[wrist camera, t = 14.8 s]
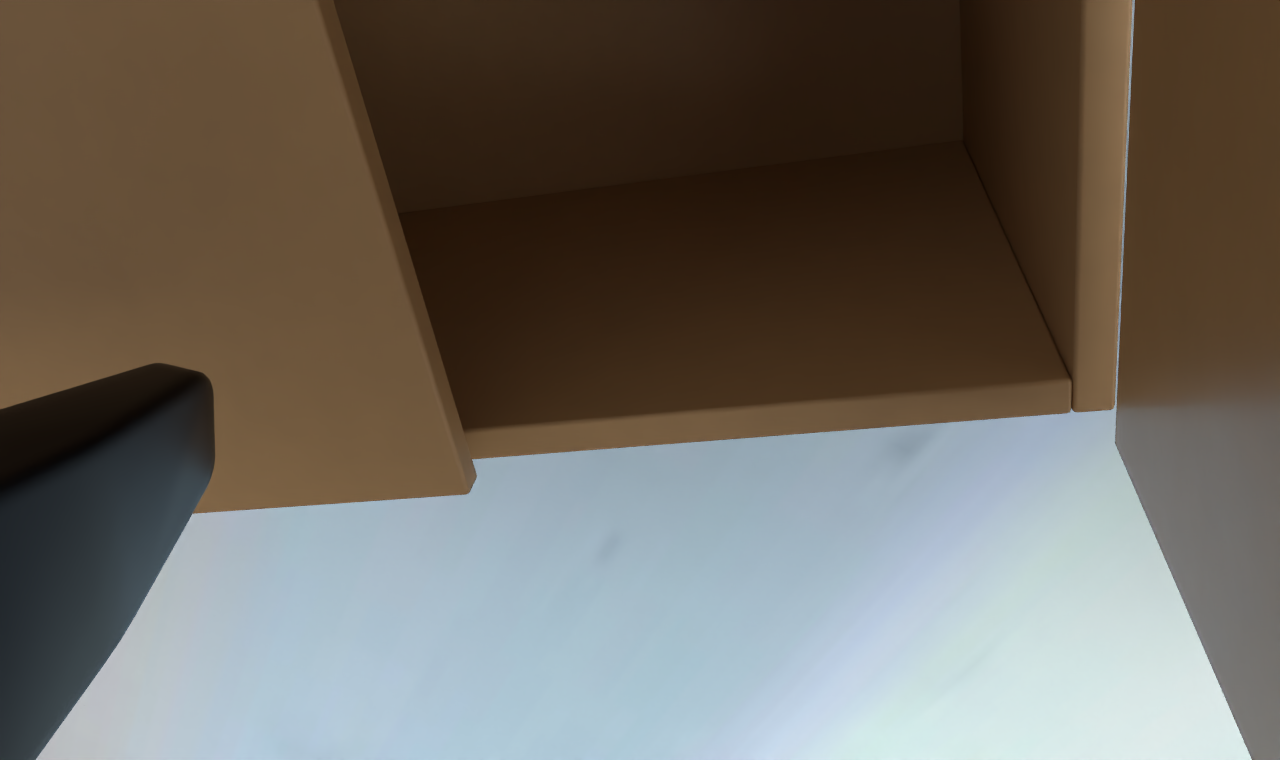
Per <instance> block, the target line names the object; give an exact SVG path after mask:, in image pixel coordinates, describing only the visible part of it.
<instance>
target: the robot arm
mask: <svg viewBox="0 0 1280 760" xmlns="http://www.w3.org/2000/svg"><path fill="white" fill-rule="evenodd" d="M214 464H215V427H214V393H213V387H212V384H211V381H210V379H209V378H208V377H207V376H206V375H205V374H204V373H202V372H199V371H194V370H190V369H186V368H182V367H178V366H174V365H169V364H165V363H153V364H149V365H145V366H142V367H139V368H136V369H132V370H129V371H126V372H122V373H119V374H116V375H112V376H109V377H106V378H102V379H99V380H96V381H92V382H89V383H86V384H82V385H79V386H76V387H73V388H69V389H66V390H63V391H59V392H56V393H53V394H49V395H46V396H43V397H39V398H36V399H33V400H29V401H26V402H23V403H20V404H16V405H13V406H10V407H6V408H3V409H0V760H36V758H37V757H38V755H39V754H40V753H41V751H42V750H43V749H44V747H45V746H46V744H47V743H48V742H49V740H50V739H51V737H52V736H53V735H54V733H55V732H56V730H57V729H58V728H59V726H60V725H61V724H62V722H63V721H64V719H65V718H66V717H67V715H68V714H69V712H70V711H71V710H72V708H73V707H74V705H75V704H76V703H77V701H78V700H79V699H80V697H81V696H82V694H83V693H84V692H85V690H86V689H87V687H88V686H89V685H90V683H91V682H92V680H93V679H94V678H95V676H96V675H97V674H98V672H99V671H100V669H101V668H102V667H103V665H104V664H105V662H106V661H107V659H108V658H109V656H110V655H111V653H112V652H113V650H114V649H115V648H116V646H117V645H118V643H119V642H120V640H121V639H122V637H123V635H124V634H125V632H126V630H127V629H128V627H129V625H130V624H131V622H132V620H133V619H134V617H135V615H136V613H137V612H138V610H139V608H140V606H141V605H142V603H143V601H144V599H145V597H146V596H147V594H148V592H149V590H150V588H151V587H152V585H153V583H154V581H155V580H156V578H157V576H158V574H159V572H160V571H161V569H162V567H163V565H164V563H165V562H166V560H167V558H168V556H169V555H170V553H171V551H172V549H173V547H174V546H175V544H176V542H177V540H178V538H179V537H180V535H181V533H182V531H183V530H184V528H185V526H186V524H187V522H188V521H189V519H190V517H191V515H192V513H193V512H194V510H195V508H196V506H197V505H198V503H199V501H200V499H201V497H202V496H203V494H204V492H205V490H206V488H207V486H208V484H209V482H210V479H211V477H212V473H213V469H214Z"/></svg>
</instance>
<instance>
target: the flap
mask: <svg viewBox="0 0 1280 760" xmlns="http://www.w3.org/2000/svg"><path fill="white" fill-rule="evenodd" d="M1115 444H1116V446H1117V449H1118V451H1119V453H1120V456H1121V458H1122V460H1123V462H1124V465H1125V467H1126V469H1127V472H1128V474H1129V476H1130V479H1131V481H1132V483H1133V486H1134V488H1135V490H1136V493H1137V495H1138V497H1139V499H1140V502H1141V504H1142V506H1143V509H1144V511H1145V513H1146V516H1147V518H1148V520H1149V523H1150V525H1151V527H1152V530H1153V532H1154V534H1155V536H1156V539H1157V541H1158V543H1159V546H1160V548H1161V550H1162V553H1163V555H1164V557H1165V560H1166V562H1167V564H1168V567H1169V569H1170V571H1171V573H1172V576H1173V578H1174V580H1175V583H1176V585H1177V587H1178V590H1179V592H1180V594H1181V597H1182V599H1183V601H1184V604H1185V606H1186V608H1187V610H1188V613H1189V615H1190V617H1191V620H1192V622H1193V624H1194V627H1195V629H1196V631H1197V634H1198V636H1199V638H1200V641H1201V643H1202V645H1203V647H1204V650H1205V652H1206V654H1207V657H1208V659H1209V661H1210V664H1211V666H1212V668H1213V671H1214V673H1215V675H1216V677H1217V680H1218V682H1219V684H1220V687H1221V689H1222V691H1223V694H1224V696H1225V698H1226V701H1227V703H1228V705H1229V708H1230V710H1231V712H1232V714H1233V717H1234V719H1235V721H1236V724H1237V726H1238V728H1239V731H1240V733H1241V735H1242V738H1243V740H1244V742H1245V745H1246V747H1247V749H1248V751H1249V754H1250V756H1251V758H1252V760H1280V0H1135V11H1134V33H1133V56H1132V78H1131V100H1130V123H1129V145H1128V167H1127V189H1126V212H1125V234H1124V256H1123V279H1122V301H1121V323H1120V345H1119V368H1118V390H1117V412H1116V434H1115Z"/></svg>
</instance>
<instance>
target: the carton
mask: <svg viewBox="0 0 1280 760" xmlns="http://www.w3.org/2000/svg"><path fill="white" fill-rule="evenodd" d="M1131 22H1132V0H0V409H3V408H6V407H10V406H13V405H16V404H20V403H23V402H26V401H29V400H33V399H36V398H39V397H43V396H46V395H49V394H53V393H56V392H59V391H63V390H66V389H69V388H73V387H76V386H79V385H82V384H86V383H89V382H92V381H96V380H99V379H102V378H106V377H109V376H112V375H116V374H119V373H122V372H126V371H129V370H132V369H136V368H139V367H142V366H145V365H149V364H153V363H165V364H169V365H174V366H178V367H182V368H186V369H190V370H194V371H199V372H202V373H204V374H205V375H206V376H207V377H208V378H209V379H210V381H211V384H212V387H213V393H214V427H215V464H214V469H213V473H212V477H211V479H210V482H209V484H208V486H207V488H206V490H205V492H204V494H203V496H202V497H201V499H200V501H199V503H198V505H197V506H196V508H195V510H194V512H193V513H207V512H221V511H236V510H250V509H264V508H278V507H293V506H307V505H321V504H335V503H350V502H364V501H378V500H392V499H407V498H421V497H435V496H449V495H464V494H468V493H469V492H470V490H471V488H472V486H473V484H474V482H475V480H476V477H477V475H476V471H475V468H474V465H473V461H472V459H481V458H493V457H506V456H519V455H532V454H545V453H558V452H571V451H584V450H597V449H610V448H623V447H636V446H649V445H662V444H674V443H687V442H700V441H713V440H726V439H739V438H752V437H765V436H778V435H791V434H804V433H817V432H830V431H843V430H855V429H868V428H881V427H894V426H907V425H920V424H933V423H946V422H959V421H972V420H985V419H998V418H1011V417H1024V416H1036V415H1049V414H1062V413H1069V412H1070V410H1071V408H1072V410H1073V411H1074V412H1088V411H1101V410H1111V409H1113V408H1114V405H1115V388H1116V365H1117V342H1118V319H1119V296H1120V273H1121V251H1122V228H1123V205H1124V182H1125V159H1126V136H1127V114H1128V91H1129V68H1130V45H1131ZM193 513H192V514H193Z"/></svg>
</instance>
